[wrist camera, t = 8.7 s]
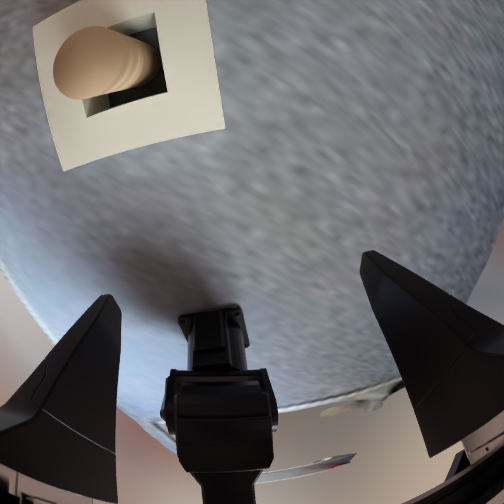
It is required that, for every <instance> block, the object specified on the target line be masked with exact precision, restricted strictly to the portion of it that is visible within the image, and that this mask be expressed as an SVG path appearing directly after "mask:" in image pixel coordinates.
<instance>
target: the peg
mask: <svg viewBox="0 0 504 504" xmlns="http://www.w3.org/2000/svg"><path fill="white" fill-rule="evenodd" d="M159 67H160V56H159V54H158V52H157V50H156V49H155V48H154V47H153V46H151V45H149V44H147V43H144V42H142V41H139V40H137V39H134V38H132V37H129V36H127V35H124V34H121V33H119V32H116V31H113V30H110V29H108V28H105V27H101V26H90V27H85V28H83V29H80V30H78V31H76V32H75V33H73V34H72V35H71V36H70V37H68V38H67V39H66V40H65V41H64V43H63V44H62V45H61V47H60V48H59V50H58V52H57V54H56V57H55V60H54V64H53V78H54V82H55V84H56V86H57V88H58V90H59V91H60V92H61V93H62V94H63V95H65V96H66V97H68V98H71V99H76V100H83V99H88V98H92V97H96V96H99V95H103V94H107V93H112V92H116V91H121V90H125V89H130V88H135V87H140V86H143V85H145V84H147V83H149V82H150V81H151V80H152V79H153V78H154V77H155V76H156V74H157V72H158V70H159Z"/></svg>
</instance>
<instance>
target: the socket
mask: <svg viewBox="0 0 504 504" xmlns="http://www.w3.org/2000/svg"><path fill="white" fill-rule="evenodd" d="M90 26H101V27H105V28H108V29H110V30H113V31H116V32H119V33H121V34H124V35H127V36H128V35H131V34H134V33H137V32H141V31H144V30H147V29H151V28H154V27H157V32H158V39H159V45H160V51H161V57H162V63H163V69H164V74H165V80H166V85H167V91H166V92H162V93H159V94H155V95H151V96H147V97H144V98H140V99H137V100H134V101H130V102H127V103H124V104H121V105H118V106H115V107H112V108H110V104H109V100H108V95H107V94H103V95H99V96H96V97H92V98H88V99H83V100H76V99H71V98H68V97H66V96H65V95H63V94H62V93H61V92H60V91H59V90H58V88H57V86H56V84H55V82H54V78H53V64H54V60H55V57H56V54H57V52H58V50H59V48H60V47H61V45H62V44H63V43H64V41H65V40H66V39H67V38H68V37H70V36H71V35H72V34H73V33H75V32H76V31H78V30H80V29H83V28H85V27H90ZM33 39H34V48H35V56H36V63H37V70H38V76H39V81H40V87H41V92H42V97H43V101H44V106H45V110H46V114H47V118H48V122H49V126H50V130H51V133H52V137H53V140H54V144H55V147H56V150H57V154H58V157H59V160H60V163H61V166H62V169H63V172H64V171H67V170H69V169H72V168H75V167H78V166H80V165H83V164H86V163H89V162H92V161H95V160H98V159H101V158H104V157H107V156H110V155H114V154H117V153H120V152H124V151H127V150H131V149H134V148H138V147H142V146H145V145H149V144H153V143H157V142H161V141H165V140H170V139H174V138H179V137H183V136H188V135H193V134H198V133H203V132H208V131H214V130H219V129H225V123H224V116H223V110H222V103H221V97H220V91H219V84H218V78H217V71H216V65H215V58H214V52H213V45H212V38H211V32H210V25H209V18H208V12H207V5H206V0H81V1H78V2H76V3H74V4H72V5H70V6H68V7H66V8H65V9H63V10H61V11H59V12H57V13H55V14H53V15H52V16H50V17H48V18H46V19H45V20H43V21H41V22H40V23H38V24H37V25H35V26H33Z"/></svg>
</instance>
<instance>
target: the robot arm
mask: <svg viewBox="0 0 504 504" xmlns="http://www.w3.org/2000/svg"><path fill="white" fill-rule="evenodd" d="M360 276H361V279H362V281H363V284H364V287H365V290H366V293H367V296H368V298H369V301H370V304H371V307H372V310H373V312H374V315H375V317H376V319H377V321H378V323H379V326H380V328H381V330H382V332H383V335H384V337H385V339H386V341H387V344H388V346H389V348H390V351H391V353H392V355H393V358H394V360H395V362H396V365H397V367H398V370H399V372H400V375H401V377H402V380H403V382H404V385H405V388H406V390H407V393H408V395H409V398H410V401H411V404H412V406H413V409H414V412H415V415H416V418H417V421H418V424H419V427H420V430H421V432H422V436H423V439H424V442H425V445H426V448H427V452H428V455H429V457H430V458H431V457H433V456H435V455H437V454H439V453H441V452H442V451H444V450H446V449H447V448H449V447H451V446H453V445H454V444H456V443H458V442H459V441H461V442H462V444H463V447H464V450H462V451H460V452H459V453H457V454H456V455H455V458H454V460H453V463H452V465H451V468H450V470H449V472H448V475H447V477H446V479H445V481H444V482H443V483H442V484H440V485H438V486H436V487H435V488H433V489H431V490H429V491H427V492H425V493H423V494H421V495H419V496H417V497H415V498H413V499H411V500H409V501H407V502H405V503H402V504H504V325H502V324H501V323H499V322H497V321H495V320H493V319H491V318H490V317H488V316H486V315H484V314H482V313H480V312H479V311H477V310H475V309H473V308H472V307H470V306H468V305H466V304H465V303H463V302H461V301H460V300H458V299H456V298H455V297H453V296H452V295H449V294H448V293H447V292H445V291H444V290H442V289H440V288H439V287H437V286H435V285H434V284H432V283H430V282H429V281H427V280H425V279H424V278H422V277H420V276H419V275H417V274H415V273H413V272H412V271H410V270H408V269H407V268H405V267H403V266H401V265H400V264H398V263H396V262H394V261H392V260H391V259H389V258H387V257H385V256H384V255H382V254H380V253H378V252H376V251H374V250H371V251H366V252H364V253H363V254H362V259H361V266H360ZM236 312H238V313H236ZM121 319H122V314H121V310H120V308H119V306H118V305H117V303H116V301H115V299H114V298H113V296H112V295H111V294H106V295H101V296H100V297H99V298H98V299H97V300H96V301H95V302H94V303H93V304H92V305H91V306H90V307H89V308H88V309H87V310H86V311H85V313H84V314H83V315H82V316H81V317H80V318H79V319H78V320H77V321H76V322H75V324H74V325H73V326H72V327H71V328H70V329H69V330H68V331H67V333H66V334H65V335H64V336H63V337H62V338H61V339H60V341H59V342H58V343H57V344H56V345H55V346H54V348H53V349H52V350H51V351H50V352H49V354H48V355H47V356H46V357H45V359H44V360H43V361H42V362H41V363H40V365H39V366H38V367H37V368H36V369H35V371H34V372H33V373H32V374H31V375H30V376H29V378H28V379H27V380H26V381H25V382H24V383H23V384H22V385H21V386H20V388H19V389H18V390H17V391H16V392H15V393H14V394H13V395H12V397H11V398H10V399H9V400H8V401H7V402H6V403H5V404H4V405H3V406H1V407H0V504H93V499H96V500H101V501H105V502H109V503H114V504H118V496H117V483H116V482H117V481H116V455H115V428H116V402H117V386H118V374H119V363H120V353H121ZM178 323H179V325H180V327H181V329H182V331H183V334H184V336H185V338H186V340H187V342H188V366H187V371H185V370H177V369H171V371H170V376H168V378H166V385H165V395H164V399H163V403H162V406H161V410H160V416H161V418H162V419H163V420H164V421H165V422H166V426H167V427H168V432H169V434H170V435H176V447H177V455H178V458H179V462H180V463H181V465H182V466H183V468H184V469H185V471H186V472H190V473H191V475H192V476H193V477H194V478H195V480H196V481H197V482H198V483H199V484H200V485H201V489H202V499H203V504H256V501H255V490H254V484H255V482H256V480H257V479H258V477H259V476H260V474H261V473H262V471H263V470H264V469H269V467H270V465H271V463H272V461H273V458H274V454H273V437H272V432H275V431H276V430H277V427H278V409H277V403H276V399H275V395H274V392H273V389H272V386H271V383H270V380H269V377H268V373H267V370H266V368H261V369H260V370H247V362H246V354H245V348H247V347H249V346H250V344H249V339H248V334H247V330H246V325H245V321H244V316H243V312H242V309H241V308H238V307H236V308H230V309H224V310H217V311H210V312H203V313H196V314H189V315H182V316H179V317H178Z"/></svg>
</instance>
